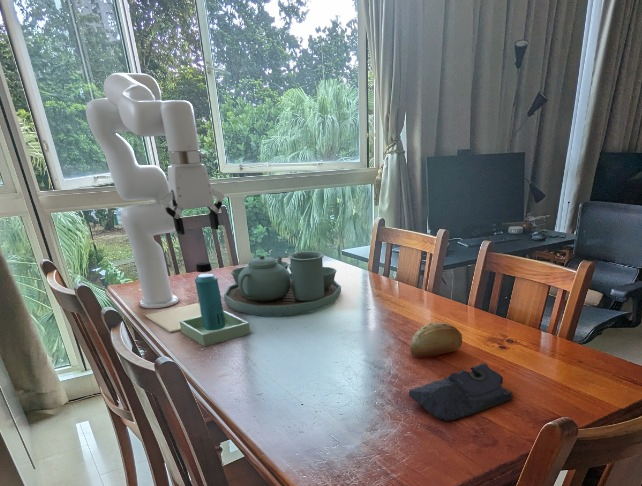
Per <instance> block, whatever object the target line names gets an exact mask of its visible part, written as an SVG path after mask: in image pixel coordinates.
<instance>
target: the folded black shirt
mask: <svg viewBox="0 0 642 486" xmlns="http://www.w3.org/2000/svg"><path fill="white" fill-rule="evenodd" d="M470 370H471V371H468V370H465V369H462V370H460V371H458V372H452V373H450V374H449V375H448V376H446V377H445V378H444V379H441V380H433V381H432V382H429V383H426V384H424V385H422V386H418V387H414V388H412V389H409V391H408V397H410V398H411V399H413V401H415V402H416V403H417V404H419V405H420V406H421V407H423V408H424V410H425V411H427V413H429V414H431V415H432V416H434V417H435V418H437V419H439V420H441V421H445V422H450V421H455V420H460V419H463V418H466V417H468V416H473V415H475V414H478V413H481V412H483V411H485V410H488V409H491V408H493V407H495V406H499V405H502V404H504V403H505V402H507V401H510V400H511V399H512V398H513V395H512V392H511V391H509V390H507V388H504V387H503V384H504V383H503V381H504V377H503V376H502V375H501V374H500V373H498V372H497V371H496V370H494V369H492V368H490V366H489V365H488V364H487V363H485V362H482V363H479V364H478V365H475V366H471V367H470Z"/></svg>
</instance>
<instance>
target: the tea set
mask: <svg viewBox="0 0 642 486" xmlns="http://www.w3.org/2000/svg"><path fill="white" fill-rule="evenodd" d="M287 257H288V259H289V262H290V263H288V262H287V261H282V260H283V259H282V257H281V256H278V257H277V259H276V258H274V257H271V256H265V255H263V254H261V255H259V256H258V257H254V258H251V259H250V260H248V262H247V266H242V267H238V268H237V267H236V268H234V269H232V270H231V272H230V274H231V276H232V278H233V281H234V284H232V285H230V286H228V287H227V289H226V290H225V292H224V294H223V298H224V302H225V304H226V305H227V306H229V307H230V308H231V309H233V310H234V311H236V312H240V313H244V314H249V315H255V316H261V317H262V316H264V317H265V316H267V317H269V316H271V317H272V316H275V317H277V316H279V317H280V316H283V317H284V316H285V317H287V316H294V315H299V314H305V313H306V314H307V313H313V312H316V311H319V310H321V309H323V308H326V307H329V306H331V305H333V304H335V303H336V301H337V300H338V298H339V297H340V296H341V293H342V286H341V285H340V284H339V283H338V282H337V281H336V280H335V278H336V274H337V270H336V268H334V267H330V266H324V264H323V263H324V262H323V258H324V257H325V254H324V253H323V252H321V251H313V250H312V251H310V250H307V251H306V250H305V251H294V252H293V253H292V252H291V253H290V254H289V255H288V256H287ZM288 269H289V270H288Z"/></svg>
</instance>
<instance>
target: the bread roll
mask: <svg viewBox="0 0 642 486" xmlns="http://www.w3.org/2000/svg"><path fill="white" fill-rule="evenodd" d="M462 344H463V334H462V332H460V330H459V329H458V328H457V327H455V325H452V324H449V323H446V322H430V323H426V324H424V325H422V326H421V327H420V328H418V330H417V331H416V332H415V333H414V334H413V336H412V338H411V341H410V343H409V351H410V355H412V356H413V357H415V358H428V357H434V356H437V355H443V354H447V353H452V352H456V351H458V350H459V349H460V348H461V347H462V346H463V345H462Z"/></svg>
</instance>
